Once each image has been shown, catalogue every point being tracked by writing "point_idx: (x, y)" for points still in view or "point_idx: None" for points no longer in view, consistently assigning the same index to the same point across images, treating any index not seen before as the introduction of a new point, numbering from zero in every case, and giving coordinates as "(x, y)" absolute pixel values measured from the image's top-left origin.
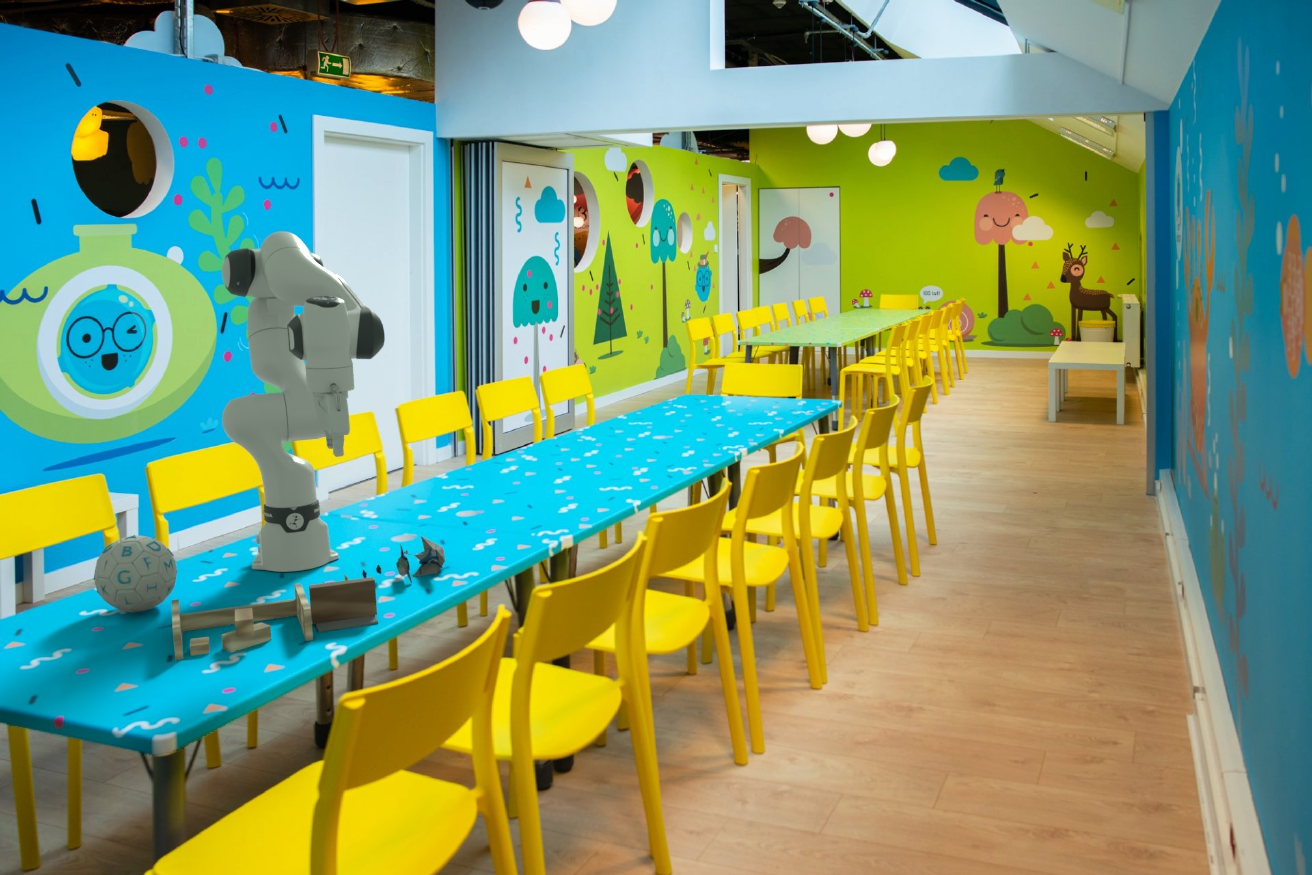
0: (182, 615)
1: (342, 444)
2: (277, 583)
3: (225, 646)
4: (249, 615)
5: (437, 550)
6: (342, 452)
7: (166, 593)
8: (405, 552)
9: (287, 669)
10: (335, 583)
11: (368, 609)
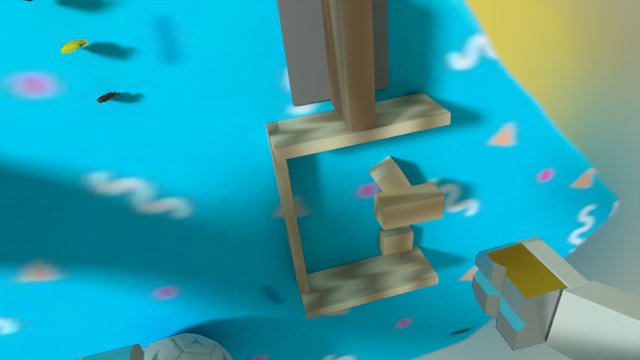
0: (306, 290)
1: (629, 302)
2: (36, 196)
3: None
4: (425, 203)
5: None
6: (549, 255)
7: (198, 338)
8: None
9: (522, 117)
10: (361, 75)
11: None
